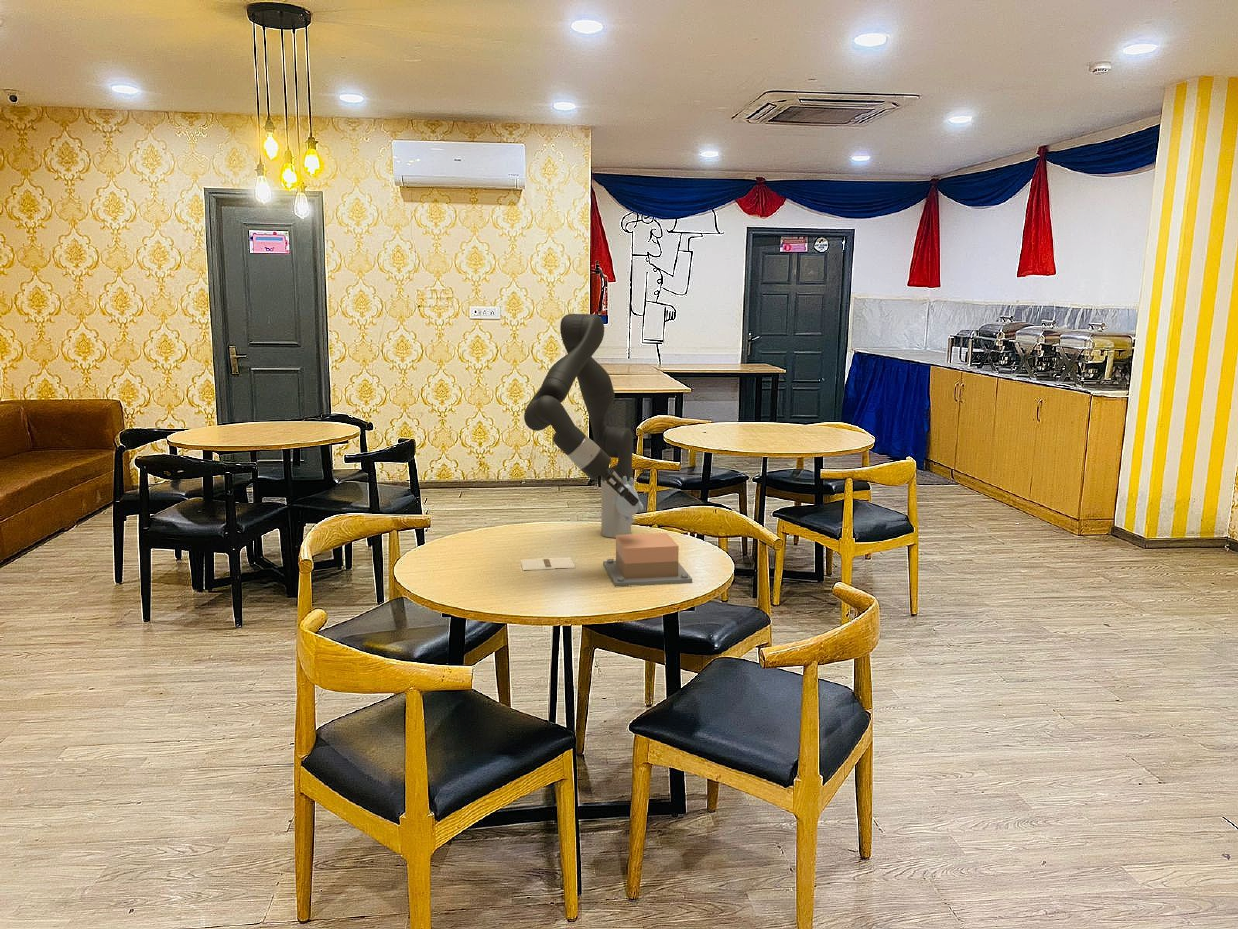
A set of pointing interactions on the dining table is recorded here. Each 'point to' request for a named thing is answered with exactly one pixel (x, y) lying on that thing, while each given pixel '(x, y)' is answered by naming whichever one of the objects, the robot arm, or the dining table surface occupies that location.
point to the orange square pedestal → (646, 561)
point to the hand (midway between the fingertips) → (633, 500)
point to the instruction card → (547, 563)
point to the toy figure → (624, 505)
